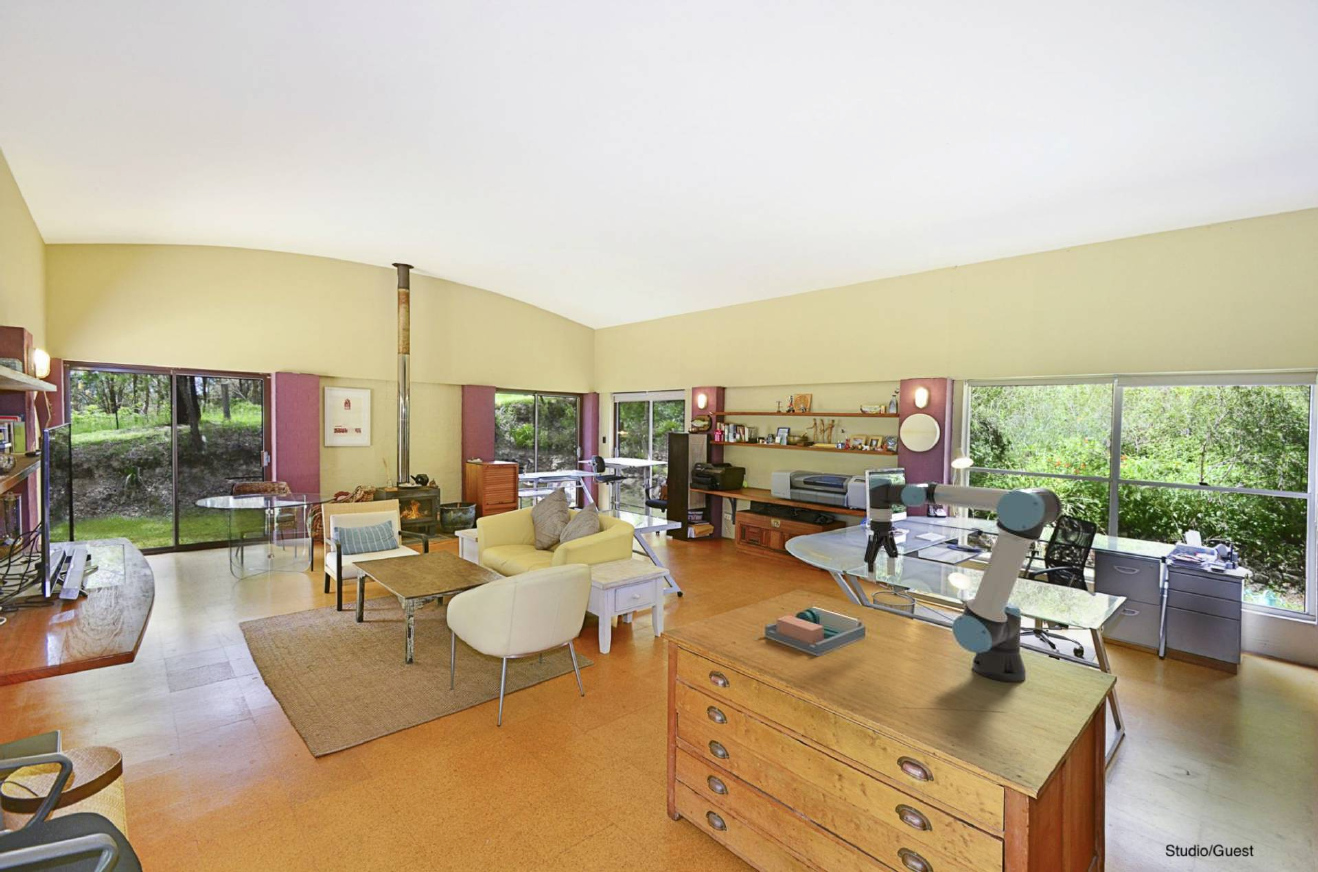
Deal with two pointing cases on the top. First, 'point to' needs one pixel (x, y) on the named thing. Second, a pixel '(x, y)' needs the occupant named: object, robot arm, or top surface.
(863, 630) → the grey tray
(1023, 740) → the top surface
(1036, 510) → the robot arm
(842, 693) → the top surface
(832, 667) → the top surface
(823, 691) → the top surface
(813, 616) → the bracket
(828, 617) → the pusher plate
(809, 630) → the box
